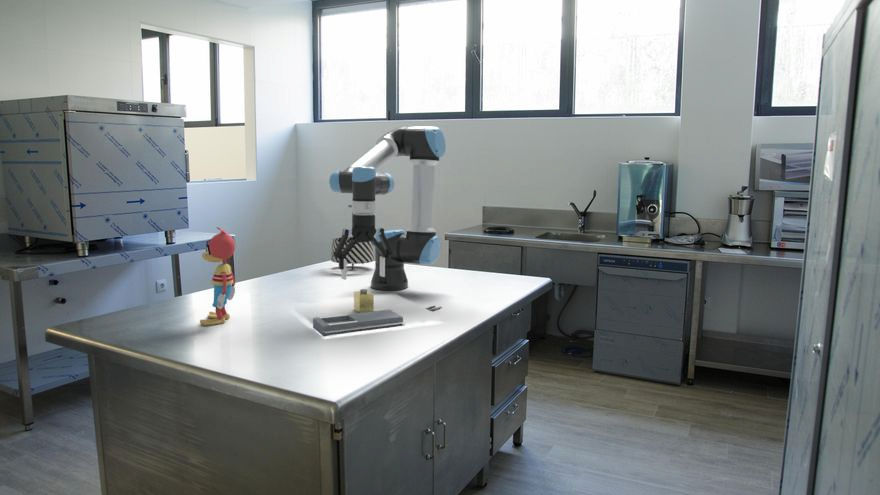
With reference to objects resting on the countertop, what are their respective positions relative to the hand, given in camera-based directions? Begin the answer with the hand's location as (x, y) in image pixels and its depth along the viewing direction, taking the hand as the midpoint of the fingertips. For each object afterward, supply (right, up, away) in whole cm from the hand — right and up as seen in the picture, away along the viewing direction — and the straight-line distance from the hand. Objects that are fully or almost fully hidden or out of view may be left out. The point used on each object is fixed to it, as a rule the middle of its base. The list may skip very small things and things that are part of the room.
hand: (363, 277), depth 204 cm
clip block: (0, -11, +2) cm, 11 cm away
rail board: (0, -15, -12) cm, 19 cm away
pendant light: (-15, 0, +83) cm, 84 cm away
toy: (-45, -14, -8) cm, 47 cm away
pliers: (+18, -13, +7) cm, 23 cm away
